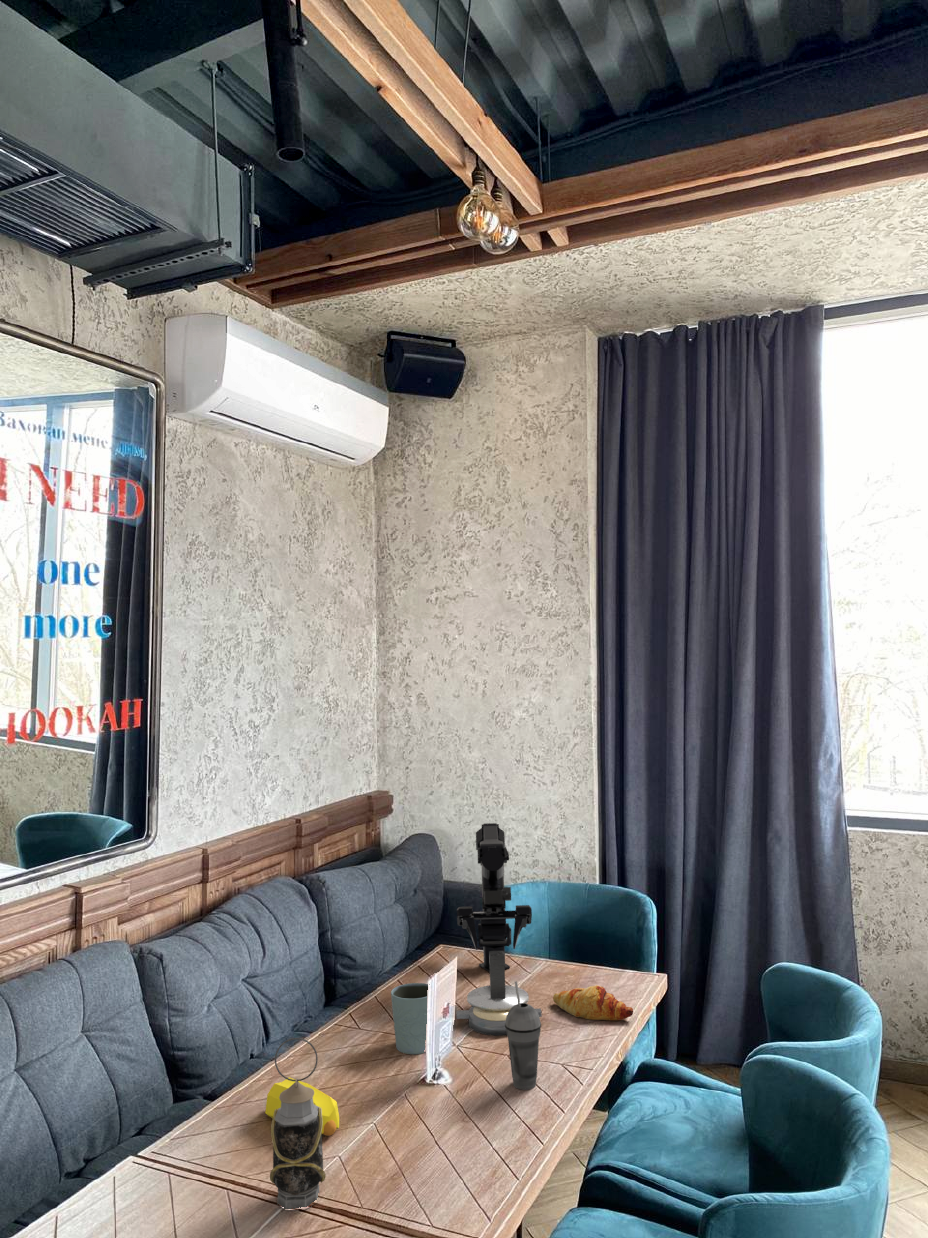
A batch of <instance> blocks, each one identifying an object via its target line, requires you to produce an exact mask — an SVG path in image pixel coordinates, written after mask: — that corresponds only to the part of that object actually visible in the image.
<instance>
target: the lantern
mask: <svg viewBox="0 0 928 1238" xmlns="http://www.w3.org/2000/svg"><path fill="white" fill-rule="evenodd" d="M293 1040H299V1041H302V1042H306V1043H307V1044H308V1045H310V1046H311V1048H312V1049H313V1051H314V1053H315V1065H314V1067H313V1069H312V1070H311V1072H310V1074H308V1075H307V1076H305V1077H302V1078H298V1077H296V1078H295V1079H296V1080H293V1079H294V1078H293V1079H289V1078H288V1077H287V1076H285V1075H284V1074H283V1073H282V1072H281V1071H280V1069H279V1068H278V1065H277V1056H278V1053H279V1051H280V1049H281V1048H282V1046H284V1045H285V1044H286V1043H287V1042H291V1041H293ZM318 1061H319V1059H318V1052H317V1050H316V1048H315V1046H314V1045H313V1044H312V1043H311V1042H310V1041H308V1040H307V1039H304V1038H302V1037H301V1038H300V1037H292V1038H289V1039H286V1040H285V1041H283V1042H282V1043H281V1044H280V1045H279V1046H278V1048H277V1050H276V1052H275V1056H274V1065H275V1069H276V1070H277V1072H278V1074H279V1075H280V1076H281V1077H282V1078H283V1079H284V1080H286V1079H287V1080H290V1081H295V1083H294V1084H293V1085H292V1086H290V1087H289V1088H288V1089H286V1090H284V1091H283V1092H282V1093H281V1094H280V1096H279V1099H280V1100H281V1108H279V1109H276V1110H275V1111H274V1116H273V1118H272V1120H271V1126H270V1136H271V1142H272V1146H273V1147H272V1149H273V1150H272V1169H271V1170H270V1172H269V1180H270V1182H271V1183H272V1184H273V1185H275V1187H276V1188H277V1193H278V1194H277V1205H278V1204H279V1205H281V1206H282V1207H284V1209H292V1208H293V1209H295V1208H299V1207H300V1208H301V1207H307V1206H309V1205H310V1204H311V1203H312V1202H314V1201H315V1200H317V1198H318V1199H319V1197H318V1193H319V1194H320V1183H323V1182H325V1180H326V1172H325V1171H324V1155H323V1134H322V1126H323V1119H322V1109H321V1108H320V1107H318V1106H316V1105H314V1104H313V1095H314V1090H313V1089H311V1088H308V1087H305V1086H304V1085H302V1084H300V1083H299V1082H298V1081H302V1082H303V1081H305V1080H306V1079H308V1078H310V1077H311V1076H312V1074H314V1073H315V1070H316V1069H317V1067H318V1063H319V1062H318ZM284 1209H283V1210H284Z"/></svg>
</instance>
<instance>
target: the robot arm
mask: <svg viewBox="0 0 928 1238" xmlns="http://www.w3.org/2000/svg"><path fill="white" fill-rule="evenodd" d="M499 825H500V824H498V823H496V822H491V823H490V822H489V823H483V824H481V828H479V829H478V830H477V831H476V832H475V849H476V851H477V864H478V865H479V864H480V866H481V894H482V896H481V897H482V898H481V899H482V900H481V903H482V905H481V906H482V910H481V911H480V910H479V911H478V910H477V911H473V906H459V907H457V909H456V922H457V926H459V927H462V929H463V930H466V931H467V932H468V934H469V935H470V938H471V940H472V942H473V943H472V944H473V945H474V948H475V950H476V951H478V950H479V949H478V947H479V948H483V962H481V963H479V964H478V966H479V967H480V968H482V969H484V971H487V972H488V973H490V963H489V951H504V961H505V962H506V952H505V947H510V945H512V949H513V950H516V946H517V944H518V939H519V936H520V934H521V932H522V929H523V928H526V927H527V925H531V924H532V921H533V919H532V918H533V912H532V907H531V906H530V905H529V904H524V905H523V904H522V905H521V904H519V905H515V910H506V907H507V906H506V905H507V904H506V901H512V889H511V888H512V887H511V886H505V877H504V876H505V874H504V873H505V864H508V861H510V854H509V851H508V849H507V848H506V840H505V836H506V835H505V830H503V829H501V828H500V826H499ZM507 919H508V920H514V928H513V937H512V928H511V927H510V925H509V924H510V923H509V922H508V923H507ZM475 920H477V921H478V920H480V923H478V924H477V928H478V930H476V924H475ZM477 931H478V936H477ZM477 937H478V939H477ZM512 939H513V940H512ZM510 968H511V966H510V965H509V964H507V963H505V970H507V969H510Z"/></svg>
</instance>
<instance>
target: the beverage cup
mask: <svg viewBox="0 0 928 1238" xmlns="http://www.w3.org/2000/svg"><path fill="white" fill-rule="evenodd" d="M514 987H515V988H516V995H517V1002H518V1004H516V1005H515V1006H513V1007H512V1008H511V1009H510V1010H509V1012H508V1014H507V1016H506V1023H505V1028H506V1033H507V1035H506V1036H507V1041H508V1049H509V1050H508V1051H509V1061H510V1069H511V1076H512V1082H513V1085H512V1086H513V1087H514V1088H516V1089H518V1090H524V1091H525V1090H532V1089H534V1088H536V1086H537V1077H538V1063H539V1062H538V1061H539V1046H540V1045H539V1044H540V1043H539V1042H540V1035H541V1028H542V1022H541V1019H540V1018H541V1017H539V1015H538V1013H537V1011H536V1010H535V1009H536V1008H535V1007H533V1005H531V1004H529V1003H520V998H519V991H518V988H519V984H518V981H517V980H516V981H514Z"/></svg>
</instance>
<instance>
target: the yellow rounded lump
mask: <svg viewBox="0 0 928 1238" xmlns="http://www.w3.org/2000/svg"><path fill="white" fill-rule="evenodd" d="M287 1078H289V1079H293V1080H296V1078H292V1077H289V1076H288V1077H287ZM298 1082H299V1083H300V1084H302V1085H304V1086H305V1087H308V1088H311V1089H313V1090H314V1095H313V1104H314V1105H316V1106H318V1107H320V1108H321V1109H322V1119H323V1126H322V1136H326V1137H328V1136H332V1135H334V1134H335V1132H336V1130H337V1129H340V1114H339V1108H338V1102H337V1100H335V1099H333V1097H331V1096H330V1095H328V1094H327V1093H324V1092H323V1091H321V1090H320V1089H318V1088H316V1087H315V1086H313V1085H311V1084H310V1083H307V1082H304V1081H303V1080H302V1081H298ZM294 1083H295V1081H290V1080H287V1079H284V1080H282V1081H281V1082H280V1081H279V1082H275V1083H274V1084H273V1085H272V1086H271V1088H270V1089H269V1091H268V1093H267V1095H266V1103H265V1113H264V1114H265V1115H267V1116H268V1117H269V1118H270V1119H273V1116H274V1111H275V1110H276V1109H279V1108H281V1100H280V1099H279V1096H280V1094H281V1093H282V1092H283V1091H284V1090H286V1089H288V1088H289V1087H290V1086H292V1085H293V1084H294Z"/></svg>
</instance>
